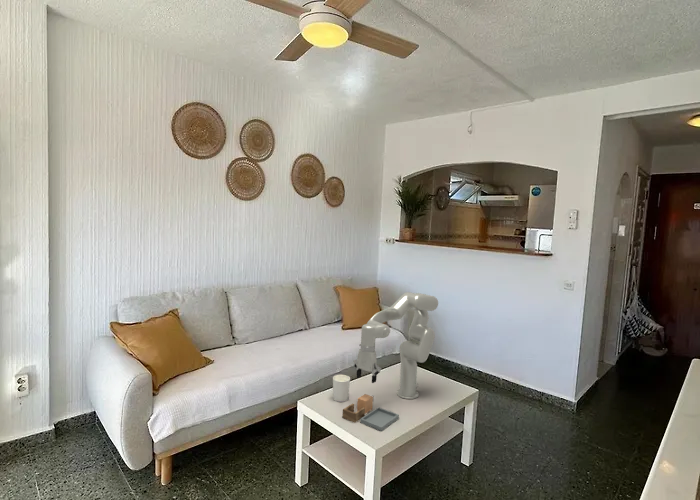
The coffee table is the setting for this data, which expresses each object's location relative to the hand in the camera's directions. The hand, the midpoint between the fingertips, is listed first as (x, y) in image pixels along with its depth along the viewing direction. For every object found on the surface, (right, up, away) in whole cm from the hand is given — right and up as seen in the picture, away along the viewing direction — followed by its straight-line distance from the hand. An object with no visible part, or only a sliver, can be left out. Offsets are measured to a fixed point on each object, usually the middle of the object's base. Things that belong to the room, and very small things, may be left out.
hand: (366, 379), depth 207 cm
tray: (+6, -17, -10) cm, 21 cm away
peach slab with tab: (0, -16, +2) cm, 17 cm away
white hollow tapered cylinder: (-14, -15, +13) cm, 25 cm away
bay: (-7, -17, -7) cm, 19 cm away
